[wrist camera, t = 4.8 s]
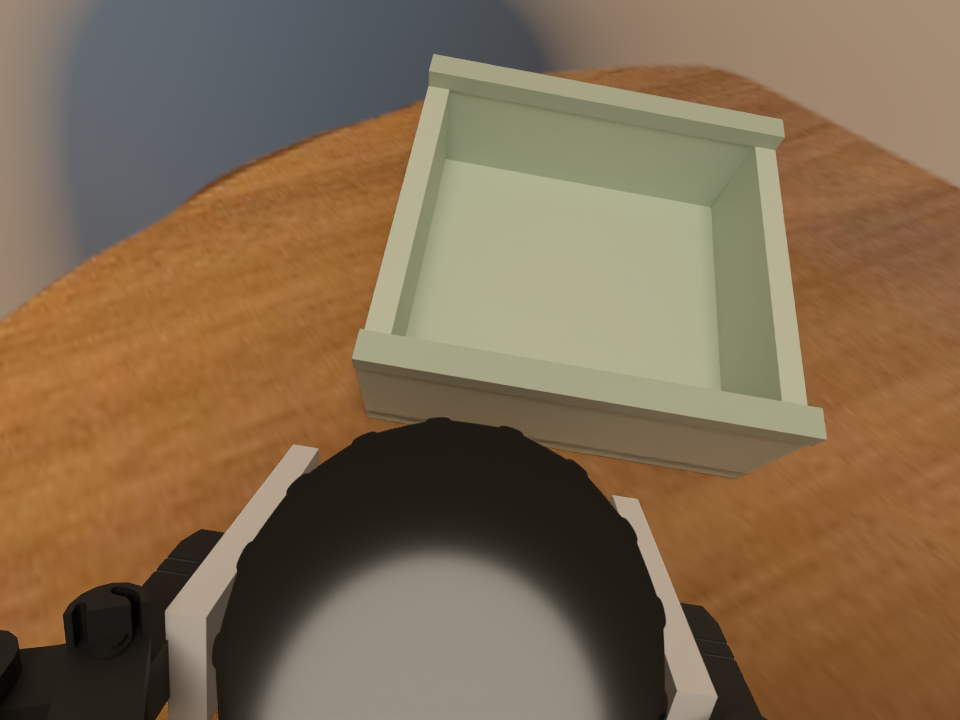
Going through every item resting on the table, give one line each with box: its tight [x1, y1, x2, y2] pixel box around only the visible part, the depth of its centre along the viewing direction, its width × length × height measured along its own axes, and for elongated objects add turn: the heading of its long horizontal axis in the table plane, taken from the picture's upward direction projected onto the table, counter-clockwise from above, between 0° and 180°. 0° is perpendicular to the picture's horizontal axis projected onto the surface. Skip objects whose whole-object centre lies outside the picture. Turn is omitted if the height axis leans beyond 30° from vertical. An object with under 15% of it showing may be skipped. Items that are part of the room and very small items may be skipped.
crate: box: [352, 54, 827, 479], centre depth 26 cm, size 17×16×6 cm
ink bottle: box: [212, 417, 668, 720], centre depth 14 cm, size 10×9×12 cm
